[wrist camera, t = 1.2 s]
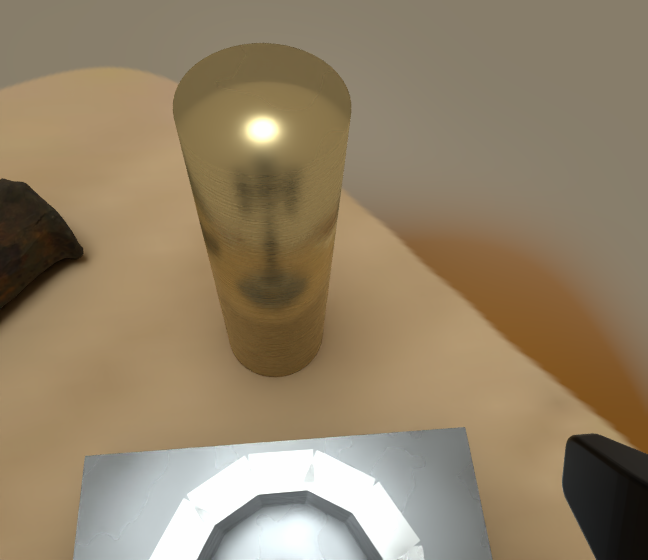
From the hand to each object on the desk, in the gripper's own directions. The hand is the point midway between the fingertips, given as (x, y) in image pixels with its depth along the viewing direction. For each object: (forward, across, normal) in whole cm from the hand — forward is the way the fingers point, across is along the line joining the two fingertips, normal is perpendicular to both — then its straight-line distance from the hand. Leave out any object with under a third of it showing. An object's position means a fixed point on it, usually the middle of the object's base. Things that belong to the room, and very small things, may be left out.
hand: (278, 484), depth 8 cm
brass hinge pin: (+15, 0, +4) cm, 16 cm away
